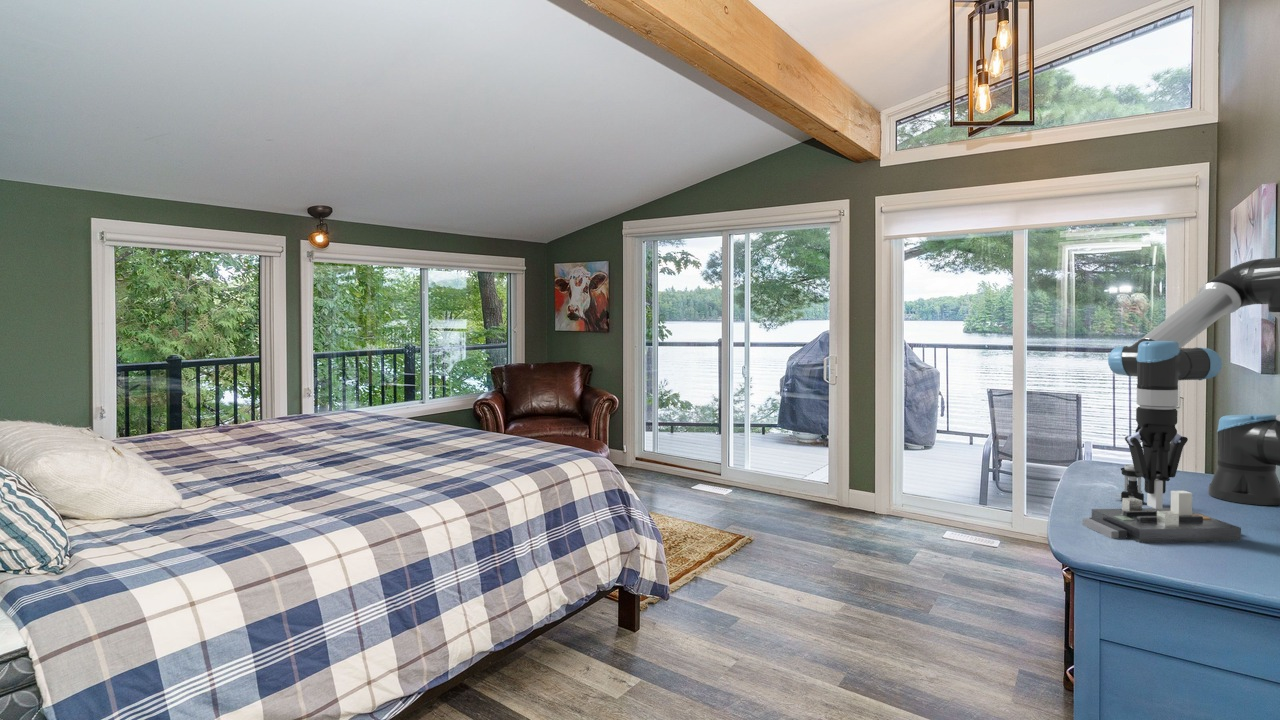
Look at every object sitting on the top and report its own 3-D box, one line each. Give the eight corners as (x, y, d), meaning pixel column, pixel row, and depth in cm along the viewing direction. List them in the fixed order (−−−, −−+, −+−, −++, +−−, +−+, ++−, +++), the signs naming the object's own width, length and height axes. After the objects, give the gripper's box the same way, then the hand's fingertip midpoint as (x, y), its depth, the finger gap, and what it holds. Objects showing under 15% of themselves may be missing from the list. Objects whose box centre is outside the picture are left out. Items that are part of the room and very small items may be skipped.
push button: (1112, 501, 176) (1113, 465, 175) (1116, 497, 180) (1116, 462, 179) (1143, 506, 171) (1143, 468, 171) (1146, 502, 175) (1146, 465, 174)
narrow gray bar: (1096, 524, 157) (1096, 517, 157) (1126, 538, 147) (1126, 530, 147) (1082, 524, 157) (1082, 517, 157) (1111, 538, 147) (1111, 530, 147)
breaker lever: (1183, 515, 152) (1183, 490, 152) (1191, 518, 150) (1192, 493, 150) (1170, 515, 152) (1170, 490, 152) (1178, 518, 150) (1179, 493, 150)
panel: (1182, 519, 159) (1182, 495, 159) (1240, 541, 143) (1241, 514, 143) (1091, 520, 160) (1091, 497, 160) (1139, 542, 144) (1139, 516, 144)
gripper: (1172, 404, 154) (1170, 502, 155) (1116, 405, 154) (1115, 503, 155) (1198, 408, 146) (1196, 511, 147) (1140, 409, 146) (1138, 511, 148)
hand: (1154, 506), depth 151 cm, fingers closed
